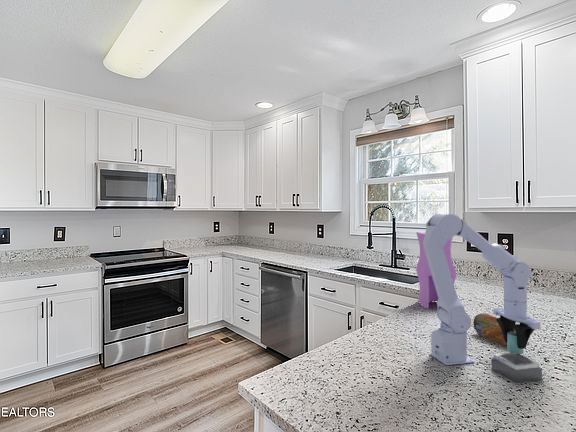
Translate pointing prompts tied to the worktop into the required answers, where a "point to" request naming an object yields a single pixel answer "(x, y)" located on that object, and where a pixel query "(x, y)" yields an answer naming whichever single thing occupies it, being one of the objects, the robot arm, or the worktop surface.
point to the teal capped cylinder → (513, 343)
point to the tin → (489, 328)
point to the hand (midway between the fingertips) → (515, 345)
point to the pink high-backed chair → (425, 275)
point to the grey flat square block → (516, 367)
